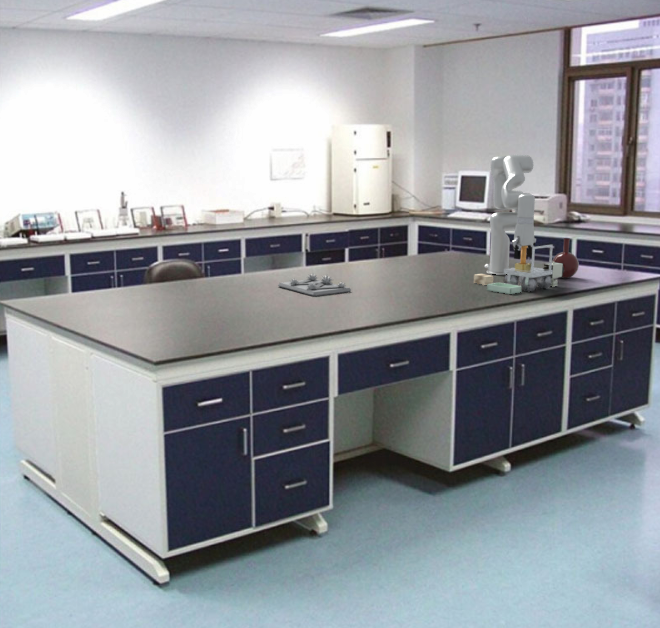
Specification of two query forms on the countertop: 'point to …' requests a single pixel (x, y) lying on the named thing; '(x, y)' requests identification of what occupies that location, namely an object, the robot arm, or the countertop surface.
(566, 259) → the round-bottom flask
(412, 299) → the countertop surface
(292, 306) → the countertop surface
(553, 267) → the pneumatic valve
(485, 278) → the block
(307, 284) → the decorative plate
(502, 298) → the countertop surface
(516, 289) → the tray
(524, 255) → the pin
